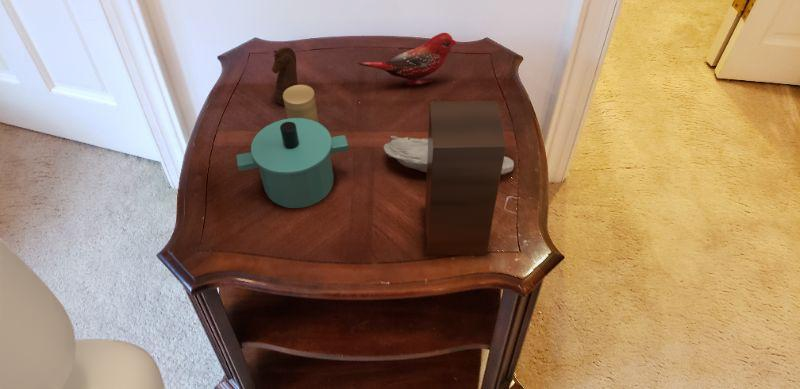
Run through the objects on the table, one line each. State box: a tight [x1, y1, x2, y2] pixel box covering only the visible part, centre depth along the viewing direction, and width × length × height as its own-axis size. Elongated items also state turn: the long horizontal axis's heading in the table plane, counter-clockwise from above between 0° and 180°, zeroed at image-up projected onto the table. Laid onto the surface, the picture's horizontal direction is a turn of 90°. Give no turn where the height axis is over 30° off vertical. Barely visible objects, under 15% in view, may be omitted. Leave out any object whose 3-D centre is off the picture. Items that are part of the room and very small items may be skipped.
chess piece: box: [271, 46, 299, 107], centre depth 95 cm, size 5×5×10 cm
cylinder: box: [283, 84, 320, 123], centre depth 88 cm, size 5×5×9 cm
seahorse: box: [383, 135, 515, 176], centre depth 85 cm, size 5×12×20 cm
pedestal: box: [424, 100, 507, 256], centre depth 70 cm, size 8×8×20 cm
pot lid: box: [250, 118, 332, 175], centre depth 78 cm, size 11×11×4 cm
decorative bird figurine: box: [356, 32, 458, 86], centre depth 97 cm, size 3×18×10 cm, turn 102°
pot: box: [236, 134, 349, 209], centre depth 82 cm, size 10×16×8 cm, turn 106°
